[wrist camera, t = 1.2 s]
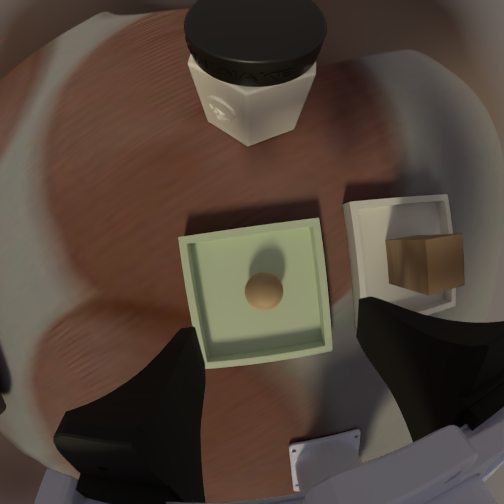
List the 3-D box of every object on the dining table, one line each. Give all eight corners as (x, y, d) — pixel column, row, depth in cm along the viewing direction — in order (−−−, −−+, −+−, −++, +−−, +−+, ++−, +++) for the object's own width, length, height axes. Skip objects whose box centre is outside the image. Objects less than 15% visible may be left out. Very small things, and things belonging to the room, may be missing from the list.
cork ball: (283, 303, 23) (287, 311, 20) (247, 308, 23) (247, 317, 20) (278, 267, 23) (282, 271, 20) (242, 272, 23) (241, 277, 20)
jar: (188, 112, 23) (148, 30, 11) (241, 57, 23) (236, -31, 11) (267, 163, 23) (282, 94, 11) (316, 102, 23) (356, 19, 11)
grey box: (445, 302, 24) (455, 305, 22) (354, 327, 24) (362, 333, 22) (437, 196, 23) (447, 194, 21) (342, 204, 23) (349, 201, 21)
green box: (327, 343, 24) (332, 350, 22) (204, 360, 24) (201, 369, 22) (314, 219, 23) (318, 217, 21) (183, 237, 23) (178, 237, 21)
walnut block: (422, 276, 23) (464, 284, 17) (388, 283, 23) (428, 295, 17) (418, 235, 23) (461, 233, 16) (385, 240, 23) (425, 239, 16)
